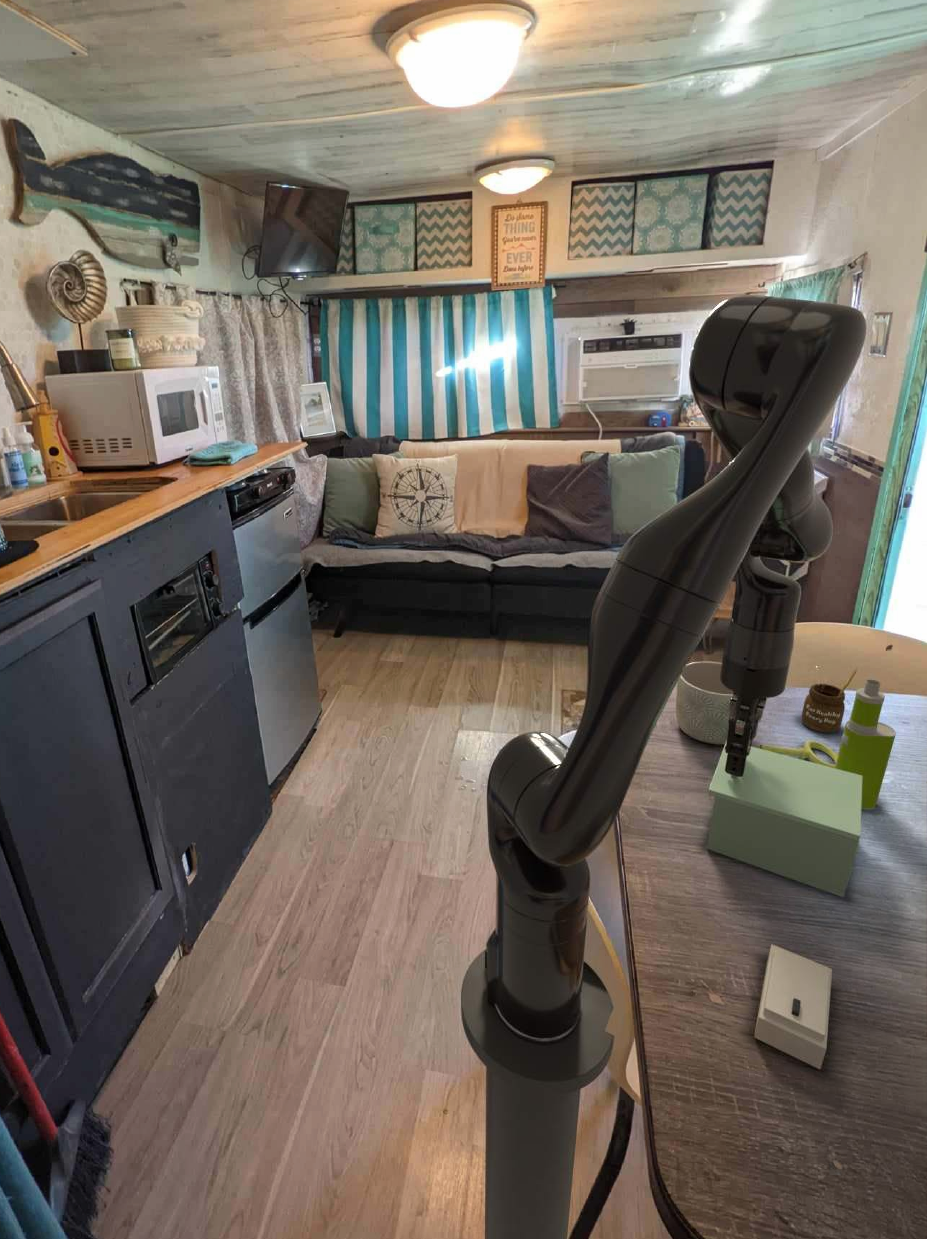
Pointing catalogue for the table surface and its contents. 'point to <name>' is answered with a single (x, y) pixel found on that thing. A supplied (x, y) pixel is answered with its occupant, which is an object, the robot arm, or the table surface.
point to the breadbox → (782, 846)
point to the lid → (794, 791)
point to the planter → (703, 702)
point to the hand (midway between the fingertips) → (737, 762)
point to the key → (805, 752)
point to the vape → (867, 743)
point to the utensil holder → (824, 706)
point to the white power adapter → (795, 1006)
